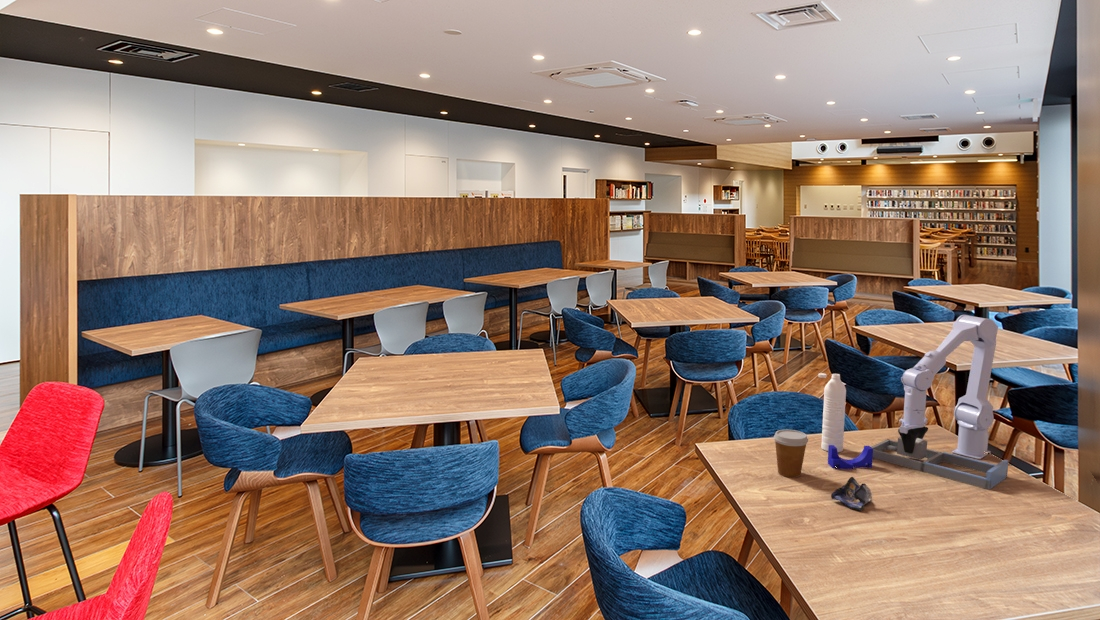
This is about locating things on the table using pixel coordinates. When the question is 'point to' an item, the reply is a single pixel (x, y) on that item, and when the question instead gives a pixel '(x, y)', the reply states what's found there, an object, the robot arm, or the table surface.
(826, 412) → the water bottle
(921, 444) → the cord plug
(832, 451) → the blue pipe cradle
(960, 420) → the robot arm
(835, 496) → the snack package
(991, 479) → the grey divided rectangular frame
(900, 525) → the table surface
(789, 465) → the disposable coffee cup
